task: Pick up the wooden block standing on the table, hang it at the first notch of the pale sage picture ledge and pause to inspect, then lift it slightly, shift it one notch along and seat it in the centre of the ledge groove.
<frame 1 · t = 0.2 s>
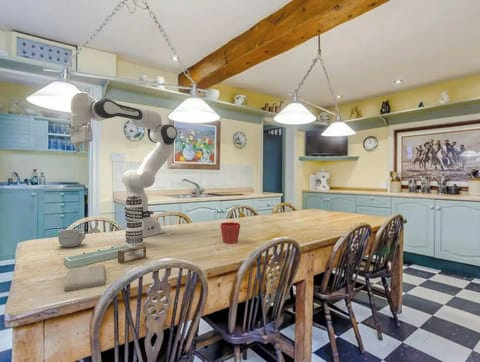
hand: (81, 151, 140), 48 cm above the table, fingers open, 8 cm apart
ledge: (102, 258, 119), on the table
decorative candle: (134, 243, 144), on the table
teacup: (73, 246, 138), on the table
flower pot: (230, 242, 148), on the table
washcloth: (86, 280, 96), on the table
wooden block: (132, 260, 117), on the table
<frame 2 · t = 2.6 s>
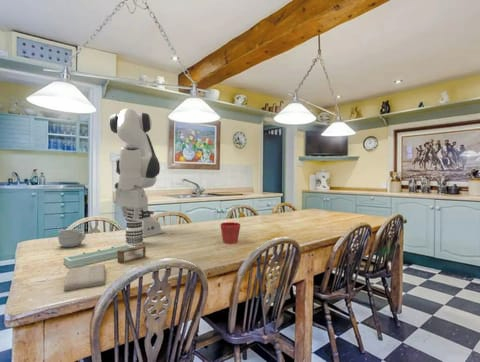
hand: (130, 217, 116), 18 cm above the table, fingers open, 8 cm apart
nothing on the table moved.
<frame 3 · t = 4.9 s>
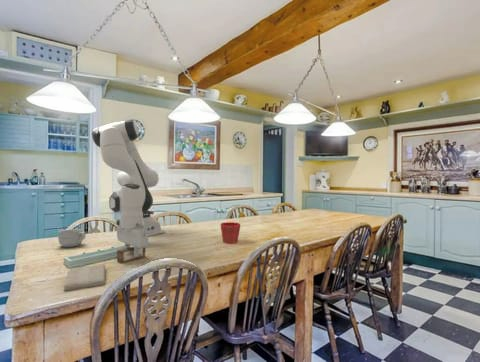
hand: (132, 254, 117), 2 cm above the table, fingers open, 4 cm apart
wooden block: (131, 259, 117), on the table, touching gripper
everything else where it was.
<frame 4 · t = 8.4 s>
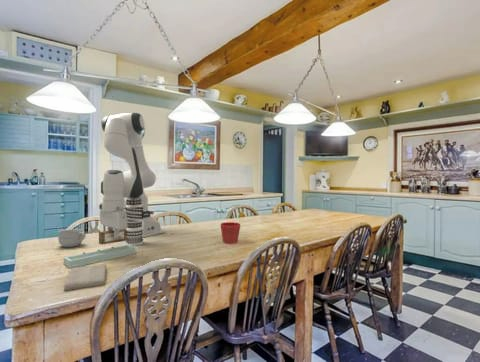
hand: (113, 237, 123), 8 cm above the table, fingers closed on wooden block, 3 cm apart
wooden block: (113, 241, 123), point 6 cm above the table, touching gripper
everything else where it was.
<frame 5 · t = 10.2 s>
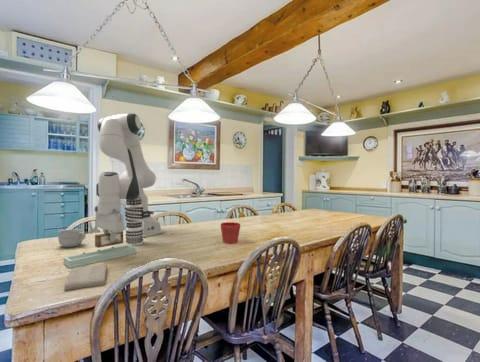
hand: (109, 239, 122), 7 cm above the table, fingers closed on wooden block, 3 cm apart
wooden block: (109, 244, 122), point 5 cm above the table, touching gripper
everything else where it was.
when the fingers open (4 cm above the table, at t = 11.6 s): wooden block stays where it is, resting on ledge.
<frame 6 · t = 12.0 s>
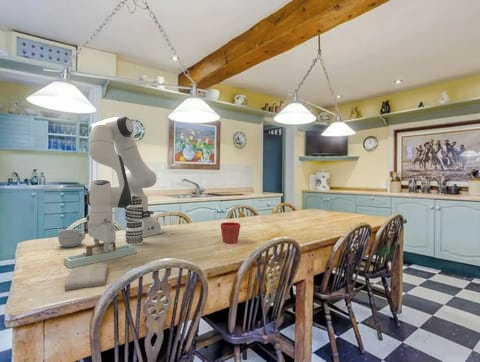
hand: (101, 249, 119), 4 cm above the table, fingers open, 7 cm apart
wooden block: (101, 255, 120), point 1 cm above the table, touching ledge
everything else where it was.
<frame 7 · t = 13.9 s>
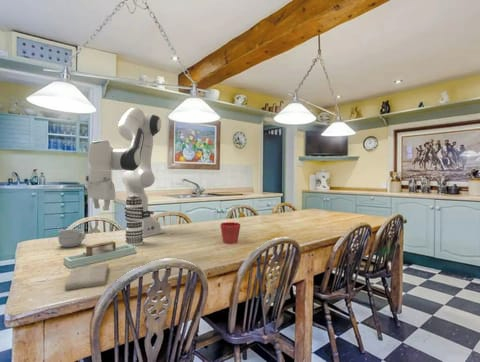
hand: (101, 209, 120), 21 cm above the table, fingers open, 8 cm apart
nothing on the table moved.
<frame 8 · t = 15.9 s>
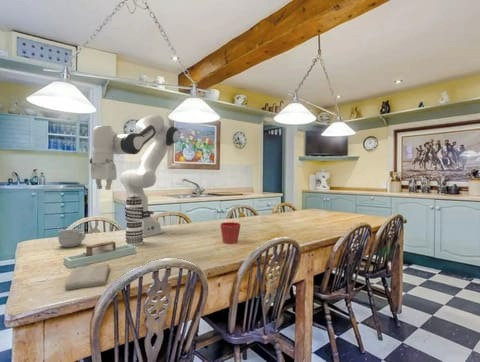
hand: (103, 189, 130), 29 cm above the table, fingers open, 8 cm apart
at the end: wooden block 0.2 cm off-centre on the ledge, point 1.0 cm above the ledge's base; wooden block tilted 0°; the gripper is holding nothing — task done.
